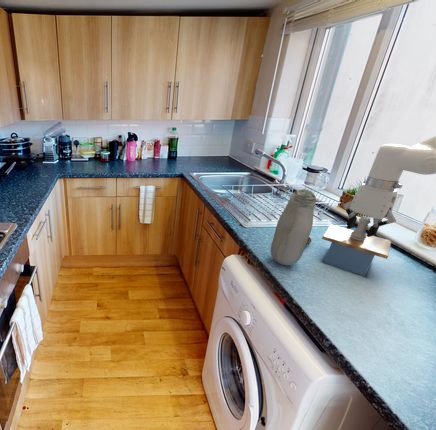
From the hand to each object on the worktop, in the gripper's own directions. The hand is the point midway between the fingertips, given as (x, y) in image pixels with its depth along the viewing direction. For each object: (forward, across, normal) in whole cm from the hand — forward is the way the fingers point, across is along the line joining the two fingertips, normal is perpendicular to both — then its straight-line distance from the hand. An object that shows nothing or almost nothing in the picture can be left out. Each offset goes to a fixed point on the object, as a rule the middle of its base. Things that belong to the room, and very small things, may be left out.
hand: (359, 231), depth 101 cm
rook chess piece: (+3, 0, 0) cm, 3 cm away
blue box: (+13, 0, 0) cm, 13 cm away
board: (+4, 0, 0) cm, 4 cm away
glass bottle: (+13, +10, +22) cm, 28 cm away
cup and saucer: (+13, +19, +3) cm, 23 cm away
